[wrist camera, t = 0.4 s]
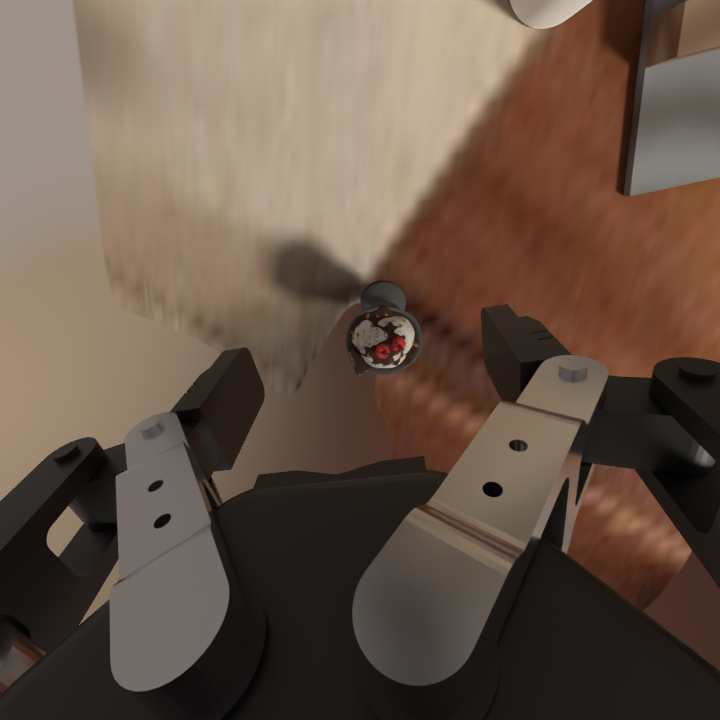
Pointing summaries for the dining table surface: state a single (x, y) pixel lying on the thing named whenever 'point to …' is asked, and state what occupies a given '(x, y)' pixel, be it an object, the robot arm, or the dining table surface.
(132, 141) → the dining table surface
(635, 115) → the crossing block
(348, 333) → the sundae
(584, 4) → the can
